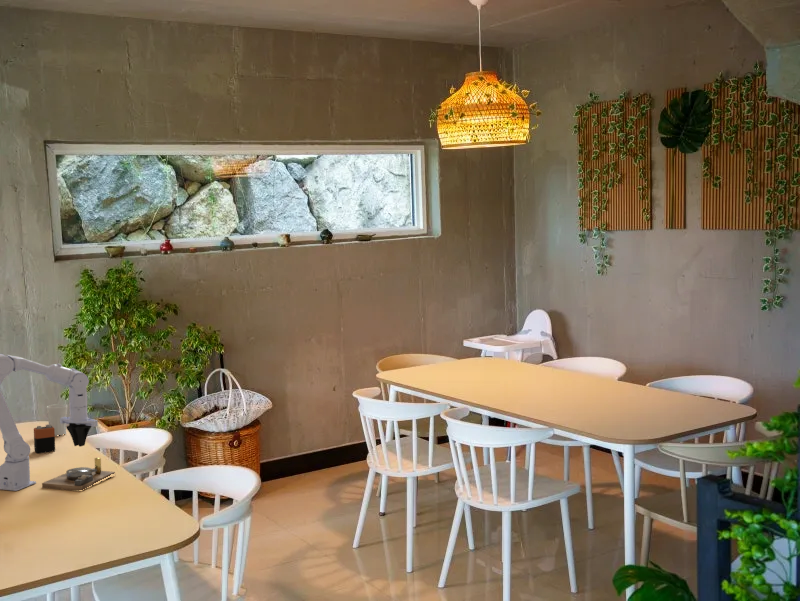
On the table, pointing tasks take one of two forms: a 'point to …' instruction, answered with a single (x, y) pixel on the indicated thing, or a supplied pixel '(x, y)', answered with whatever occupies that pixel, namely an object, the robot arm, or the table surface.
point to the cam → (83, 470)
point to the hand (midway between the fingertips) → (79, 445)
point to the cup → (57, 417)
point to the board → (71, 483)
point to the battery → (44, 439)
